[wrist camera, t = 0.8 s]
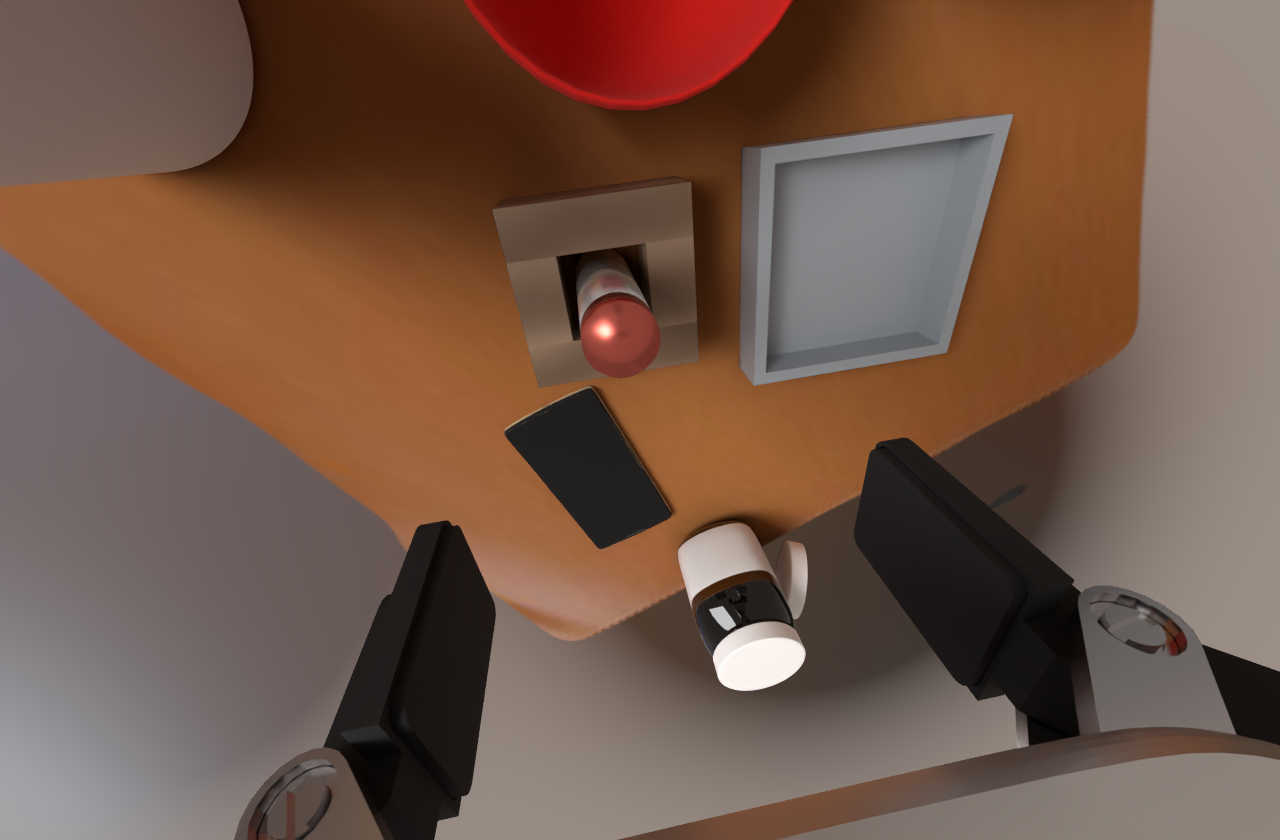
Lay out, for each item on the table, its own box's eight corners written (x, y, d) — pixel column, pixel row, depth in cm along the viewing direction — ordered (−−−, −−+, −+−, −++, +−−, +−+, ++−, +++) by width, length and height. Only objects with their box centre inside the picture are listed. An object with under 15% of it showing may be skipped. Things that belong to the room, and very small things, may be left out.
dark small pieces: (590, 386, 32) (674, 518, 40) (589, 379, 33) (671, 509, 41) (500, 432, 33) (600, 552, 41) (502, 423, 34) (599, 542, 41)
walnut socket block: (501, 200, 26) (491, 209, 22) (674, 176, 26) (690, 181, 23) (541, 360, 31) (538, 387, 28) (684, 337, 32) (698, 361, 28)
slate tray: (741, 147, 26) (761, 148, 23) (971, 116, 27) (1013, 113, 24) (739, 366, 33) (754, 385, 31) (918, 337, 34) (946, 352, 32)
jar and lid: (662, 529, 41) (693, 651, 31) (779, 482, 40) (849, 593, 31) (701, 601, 48) (737, 720, 38) (803, 562, 47) (867, 674, 37)
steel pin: (570, 252, 28) (574, 309, 18) (625, 243, 28) (657, 296, 19) (580, 306, 29) (588, 383, 20) (632, 298, 30) (663, 370, 20)
